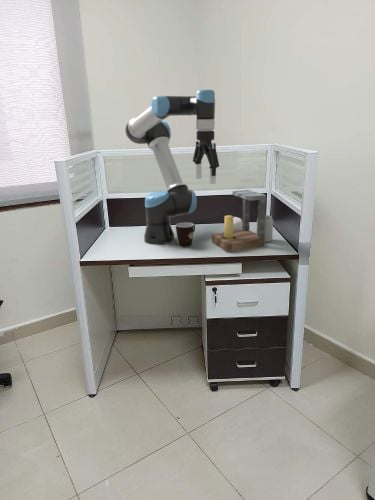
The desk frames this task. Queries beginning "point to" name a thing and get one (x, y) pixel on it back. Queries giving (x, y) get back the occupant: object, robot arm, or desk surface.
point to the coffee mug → (185, 233)
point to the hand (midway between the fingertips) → (205, 181)
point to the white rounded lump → (237, 224)
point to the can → (268, 228)
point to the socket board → (237, 241)
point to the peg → (228, 227)
